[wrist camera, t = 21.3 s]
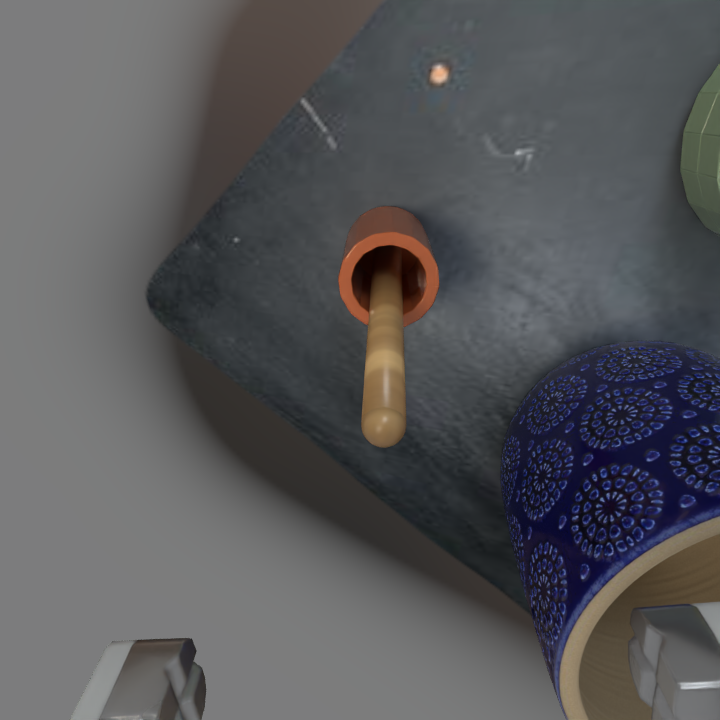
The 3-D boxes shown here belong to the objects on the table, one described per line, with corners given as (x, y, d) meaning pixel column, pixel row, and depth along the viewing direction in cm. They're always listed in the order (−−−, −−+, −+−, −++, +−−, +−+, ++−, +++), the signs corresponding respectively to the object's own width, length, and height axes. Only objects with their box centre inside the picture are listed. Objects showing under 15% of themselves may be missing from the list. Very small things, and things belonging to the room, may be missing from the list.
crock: (341, 211, 39) (332, 238, 31) (424, 201, 38) (435, 226, 31) (351, 290, 41) (345, 334, 33) (430, 282, 40) (442, 324, 33)
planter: (592, 561, 50) (722, 845, 31) (431, 435, 45) (467, 678, 26) (787, 416, 44) (1095, 660, 25) (623, 254, 39) (848, 403, 20)
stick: (372, 235, 38) (358, 422, 23) (400, 233, 38) (405, 420, 23) (374, 261, 39) (362, 457, 24) (401, 259, 39) (407, 455, 24)
